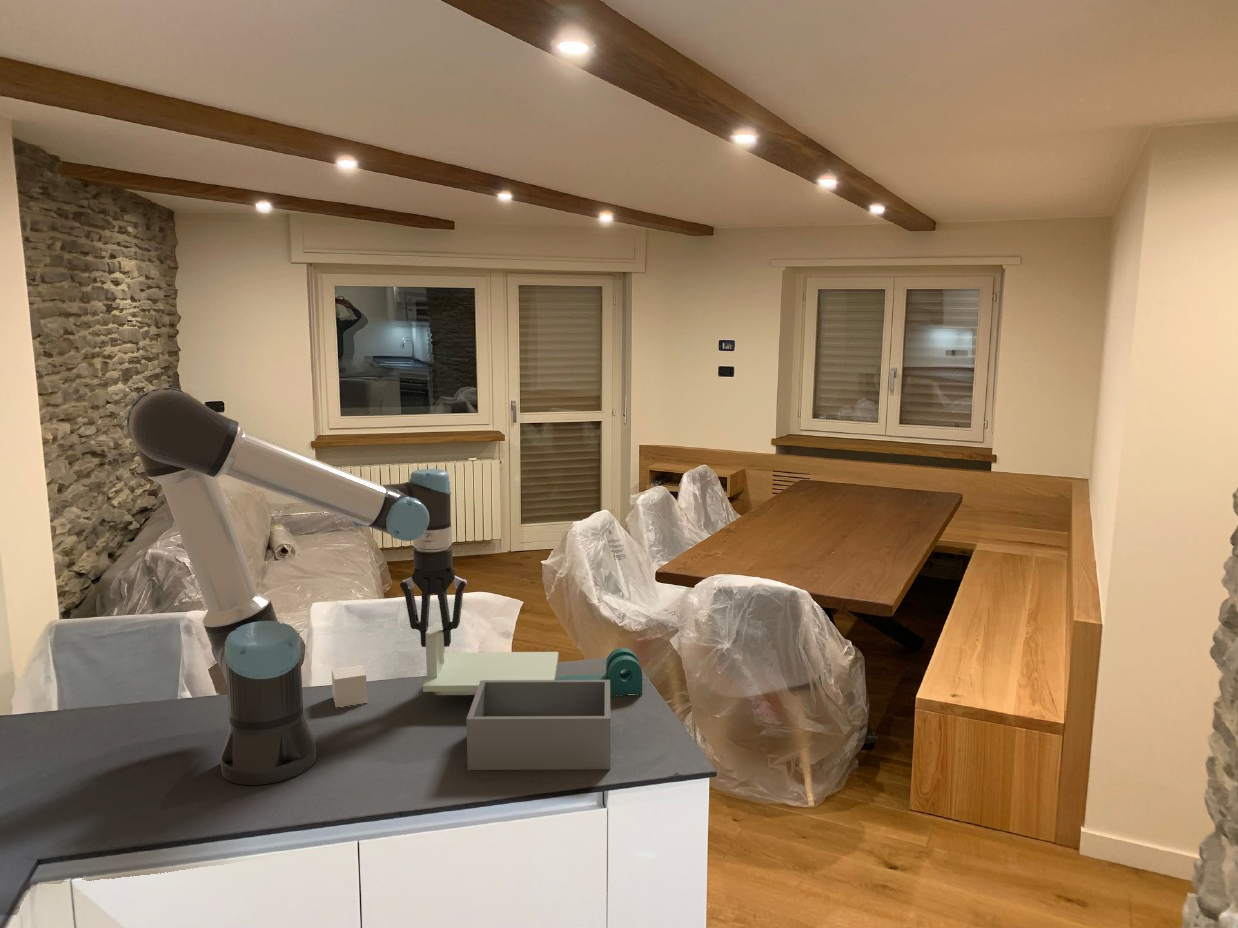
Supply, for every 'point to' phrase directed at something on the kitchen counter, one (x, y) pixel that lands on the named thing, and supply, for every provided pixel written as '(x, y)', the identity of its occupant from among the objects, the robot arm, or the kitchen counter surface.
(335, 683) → the white cube
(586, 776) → the kitchen counter surface
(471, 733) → the tub
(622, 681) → the bracket
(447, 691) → the pale green l-shaped plate
